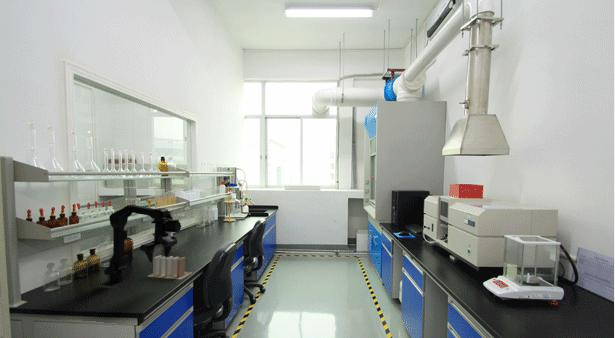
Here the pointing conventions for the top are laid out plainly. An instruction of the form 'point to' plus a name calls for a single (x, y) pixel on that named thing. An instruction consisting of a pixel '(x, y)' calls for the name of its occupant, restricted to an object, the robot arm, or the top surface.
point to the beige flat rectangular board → (170, 276)
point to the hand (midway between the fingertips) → (158, 259)
